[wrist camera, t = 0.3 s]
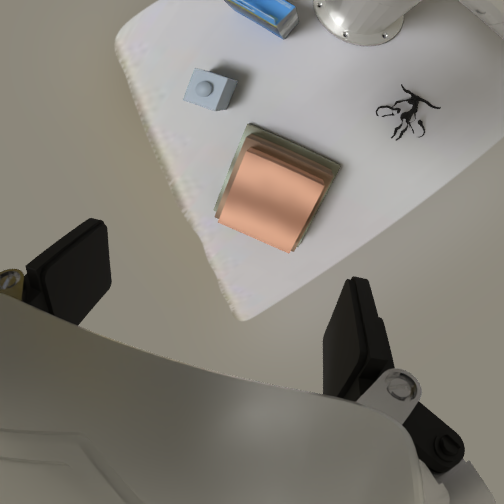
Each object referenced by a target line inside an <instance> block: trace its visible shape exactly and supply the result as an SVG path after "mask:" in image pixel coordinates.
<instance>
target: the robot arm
mask: <svg viewBox="0 0 504 504" xmlns="http://www.w3.org/2000/svg"><path fill="white" fill-rule="evenodd" d="M420 1H422V0H313V6H314V10H315V13H316V15H317V17H318V19H319V21H320V22H321V24H322V25H323V26H324V27H325V28H326V29H327V30H328V31H329V32H330V33H331V34H333V35H334V36H336V37H337V38H339V39H341V40H343V41H345V42H348V43H351V44H354V45H360V46H374V45H379V44H382V43H385V42H387V41H389V40H390V39H392V38H393V37H394V36H395V35H396V34H397V33H398V32H399V30H400V28H401V26H402V24H403V19H404V14H405V13H406V12H407V11H409V10H410V9H411V8H413V7H414V6H415V5H417V4H418V3H419V2H420ZM458 1H459V2H461V3H462V4H463V5H464V6H466V7H467V8H468V9H469V10H470V11H472V12H473V13H474V14H475V15H476V16H477V17H479V18H480V19H481V20H482V21H483V22H485V23H486V24H487V25H488V26H489V27H490V28H491V29H492V30H493V31H494V32H496V33H497V34H498V35H499V36H500V37H501V38H502V39H504V0H458ZM318 5H320V6H321V8H319V7H318ZM344 34H345V35H346V36H347V37H344V36H343V35H344ZM382 35H384V36H385V38H383V37H382ZM26 270H27V274H26V275H25V276H24V274H23V272H22V271H21V270H19V269H7V270H4V271H2V272H0V504H496V503H495V499H494V497H493V495H492V493H491V492H490V490H489V489H488V487H487V486H486V484H485V483H484V481H483V480H482V478H481V477H480V475H479V474H478V472H477V471H476V469H475V468H474V466H473V465H472V464H471V462H470V461H467V462H465V461H464V459H463V456H464V452H465V448H464V443H463V441H462V439H461V437H460V436H459V435H458V434H457V433H456V432H455V431H454V430H452V429H451V428H450V427H449V426H448V425H446V424H445V423H444V422H443V421H442V420H440V419H439V418H438V417H437V416H436V415H434V414H433V413H432V412H431V411H430V410H428V409H427V408H426V407H425V406H423V404H421V403H420V402H419V400H420V397H421V394H422V390H421V386H420V383H419V382H418V380H417V379H416V378H415V377H414V376H413V375H412V374H411V373H409V372H407V371H405V370H402V369H395V367H394V363H393V358H392V354H391V350H390V346H389V341H388V338H387V333H386V330H385V326H384V322H383V320H382V318H380V317H378V314H377V310H376V306H375V302H374V299H373V295H372V291H371V288H370V284H369V281H368V280H367V279H363V278H359V277H352V279H351V280H349V279H347V280H346V281H345V284H344V286H343V289H342V292H341V294H340V297H339V299H338V302H337V305H336V307H335V309H334V312H333V314H332V317H331V319H330V322H329V324H328V326H327V329H326V331H325V334H324V337H323V394H318V393H313V392H308V391H302V390H298V389H293V388H287V387H282V386H277V385H273V384H268V383H263V382H259V381H254V380H250V379H245V378H241V377H237V376H233V375H229V374H225V373H221V372H217V371H213V370H209V369H205V368H202V367H198V366H194V365H191V364H188V363H184V362H180V361H177V360H174V359H171V358H167V357H164V356H161V355H158V354H155V353H151V352H148V351H145V350H142V349H139V348H136V347H133V346H130V345H127V344H125V343H122V342H119V341H116V340H114V339H111V338H108V337H106V336H103V335H100V334H98V333H95V332H92V331H90V330H87V329H85V328H82V327H79V326H78V325H79V324H80V322H81V321H82V320H83V319H84V318H85V316H86V315H87V314H88V313H89V312H90V311H91V309H92V308H93V307H94V306H95V305H96V303H97V302H98V301H99V300H100V299H101V298H102V297H103V295H104V294H105V293H106V292H107V291H108V290H109V288H110V286H111V282H112V281H111V270H110V260H109V247H108V232H107V226H106V225H105V224H104V222H103V221H102V220H97V219H93V218H89V219H88V220H86V221H85V222H83V223H82V224H81V225H79V226H78V227H76V228H75V229H73V230H72V231H71V232H69V233H68V234H67V235H65V236H64V237H62V238H61V239H60V240H58V241H57V242H56V243H54V244H53V245H52V246H50V247H49V248H48V249H46V250H45V251H44V252H43V253H41V254H40V255H39V256H37V257H36V258H35V259H34V260H32V261H31V262H30V263H29V264H27V265H26Z"/></svg>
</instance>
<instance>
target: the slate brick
mask: <svg viewBox="0 0 504 504" xmlns="http://www.w3.org/2000/svg"><path fill="white" fill-rule="evenodd" d="M237 82H238V81H236V80H234V79H231V78H228V77H225V76H222V75H219V74H216V73H213V72H209V71H205V70H201V69H197V68H195V69H194V71H193V74H192V77H191V79H190V82H189V85H188V87H187V90H186V93H185V95H184V98H183V100H184V101H187V102H190V103H193V104H196V105H198V106H201V107H204V108H207V109H210V110H213V111H220V110H226V109H227V107H228V104H229V102H230V99H231V97H232V94H233V92H234V89H235V87H236V85H237Z"/></svg>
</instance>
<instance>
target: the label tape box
mask: <svg viewBox="0 0 504 504" xmlns="http://www.w3.org/2000/svg"><path fill="white" fill-rule="evenodd" d="M224 1H225V2H226V3H227V4H228V5H229V6H230V7H231V8H233V10H235V11H237V12H238V13H240V14H242V15H244V16H245V17H247V18H249V19H250V20H252V21H254V22H256V23H257V24H259V25H261V26H262V27H264V28H266V29H267V30H269V31H270V32H272V33H274V34H275V35H277V36H278V37H280V38H282V39H285V38H286V37H287V35H288V34H289V33H290V32H291V30H292V29H293V28H294V27H295V26H296V24H297V23H298V22H299V20H298V15H297V10H296V7H295V6H294V5H292V4H291V3H289V2H287V1H286V0H224Z"/></svg>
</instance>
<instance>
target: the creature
mask: <svg viewBox="0 0 504 504" xmlns="http://www.w3.org/2000/svg"><path fill="white" fill-rule="evenodd" d="M401 86H402V84H401ZM402 88H403V90H404V91H405V92H406V93H409V94H410V95H411V98H410V99H406V100H402V101H396V103H395V105H396V104H397V103H400V102H403V101H408V103H409V104H412V105H413V107H412V109H411V110H410V111H408V112H404V113H402V114H401V117H400V118H401V120H402V122H403V119H406V123H407V127H408V124H409V126H411V125H410V123H411V122H409V120H410V119H411V117H412V115H413V113H414V115H415V113H416V112H417V108H418V107H417V106H418V103H419V101H422V102H425V103H426V104H427V105H429V106H430V107H432V108H436V109H440V108H441V107H435V106H433V105H431V104H430V103H429V102H428V101H426V100H424V99H422V98H420V97H419V96H416V95H415V94H413V93H412V92H410V91H409V90H406V89H405V88H404V87H403V86H402ZM395 105H394V106H395ZM386 107H387V108H390V109H392V110H397V113H399V112H400V111H401V109H400V108H395V109H394V108H392V107H393V106H392V107H390V106H380V107H378V108H377V110H376V115H377V116H378V114H377V111H378V109H379V108H386ZM415 110H416V111H415ZM390 115H394V114H393V112H392V114H390ZM384 116H388V115H384ZM384 116H382V117H384ZM394 116H395V115H394ZM415 119H416V117H415ZM418 124H419V125H420V126H422V128H423V130H424V133H425V129H424V126H423V125H422V121H421V120H418ZM401 126H402V124H401V125H400V126H399V127H396V128H395V131H394V135H393V136H392V137H391V138H393V137H394V136H395V134H396V132H397V130H398V129H400V128H401ZM407 127H406V128H405V129H404V130H403V131H401V133H400V136H399V138H401V137H402V135H403V133H404V132H405V131H406V130H407ZM411 128H412V127H411ZM412 131H413V129H412ZM413 133H414V131H413ZM424 133H423V135H424ZM423 135H422V136H423ZM422 136H420V137H422ZM399 138H397V139H396V141H397V140H398V139H399Z"/></svg>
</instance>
